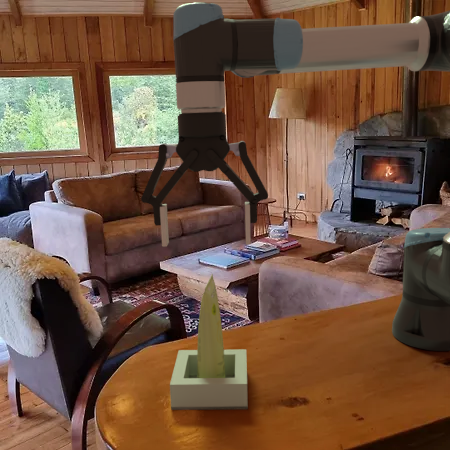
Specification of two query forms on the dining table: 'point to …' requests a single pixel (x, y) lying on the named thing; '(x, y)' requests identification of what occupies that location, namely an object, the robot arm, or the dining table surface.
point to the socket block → (209, 383)
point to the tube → (210, 336)
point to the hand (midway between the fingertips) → (206, 243)
